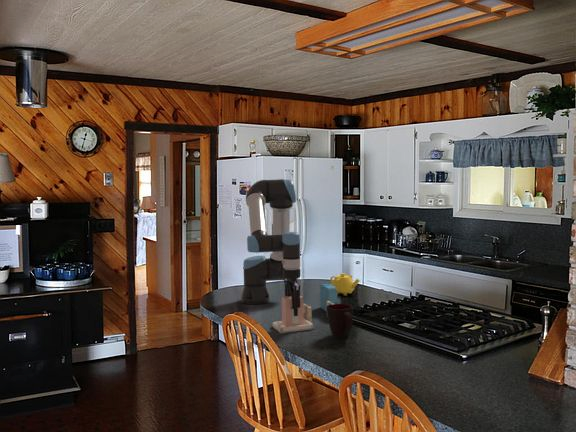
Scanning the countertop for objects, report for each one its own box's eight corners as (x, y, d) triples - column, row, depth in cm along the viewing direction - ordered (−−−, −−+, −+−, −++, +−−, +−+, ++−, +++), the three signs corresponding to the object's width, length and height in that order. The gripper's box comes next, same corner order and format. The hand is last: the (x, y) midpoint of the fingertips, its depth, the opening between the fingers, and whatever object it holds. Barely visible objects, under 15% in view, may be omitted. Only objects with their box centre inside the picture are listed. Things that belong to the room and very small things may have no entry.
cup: (345, 330, 242) (344, 302, 241) (361, 339, 229) (361, 310, 228) (323, 333, 238) (323, 305, 237) (339, 342, 225) (338, 312, 224)
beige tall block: (282, 323, 248) (281, 296, 247) (299, 321, 251) (298, 294, 250) (286, 326, 244) (285, 299, 243) (303, 324, 246) (303, 297, 245)
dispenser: (302, 318, 262) (302, 303, 261) (328, 315, 266) (328, 301, 266) (309, 323, 254) (309, 307, 254) (336, 319, 259) (335, 304, 258)
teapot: (360, 295, 307) (360, 275, 306) (336, 297, 304) (335, 276, 303) (351, 290, 321) (351, 270, 320) (328, 291, 318) (328, 271, 317)
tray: (272, 326, 250) (272, 322, 250) (304, 322, 255) (304, 318, 255) (280, 333, 240) (280, 328, 240) (313, 329, 245) (313, 324, 245)
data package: (337, 312, 272) (337, 287, 271) (328, 313, 271) (328, 288, 270) (328, 306, 284) (328, 282, 283) (320, 307, 282) (319, 283, 281)
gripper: (276, 265, 252) (277, 317, 254) (290, 272, 236) (292, 327, 238) (292, 264, 255) (293, 315, 257) (307, 270, 238) (308, 325, 240)
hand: (292, 321), depth 247 cm, fingers closed on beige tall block, 5 cm apart
